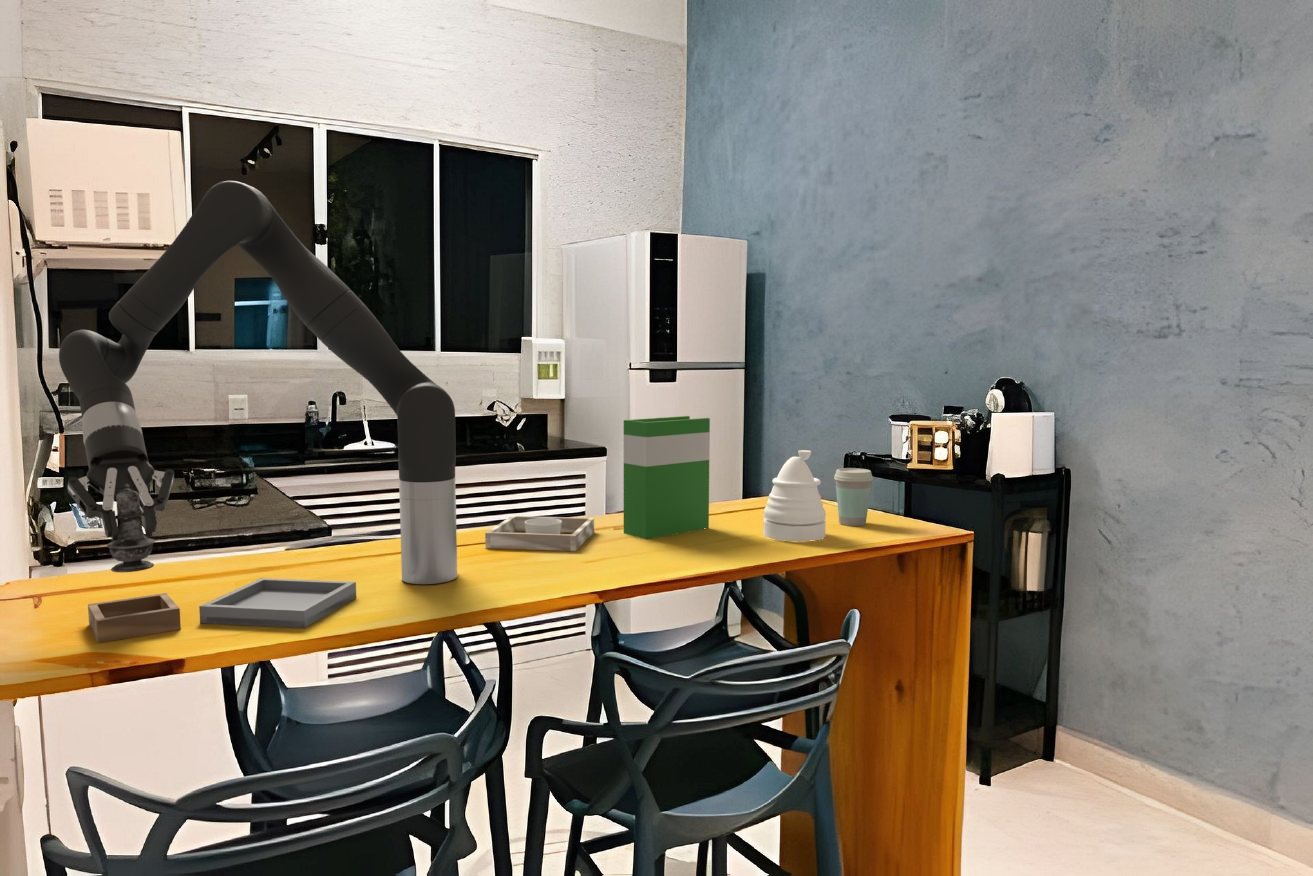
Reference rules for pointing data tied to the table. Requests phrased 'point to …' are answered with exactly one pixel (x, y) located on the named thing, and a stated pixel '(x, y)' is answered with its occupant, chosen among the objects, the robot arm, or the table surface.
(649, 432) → the green cereal box
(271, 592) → the tray
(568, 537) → the grey wooden tray
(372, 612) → the table surface
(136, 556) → the grey stone finial
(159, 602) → the collar
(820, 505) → the honey pot
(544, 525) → the light grey bowl
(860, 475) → the coffee cup
